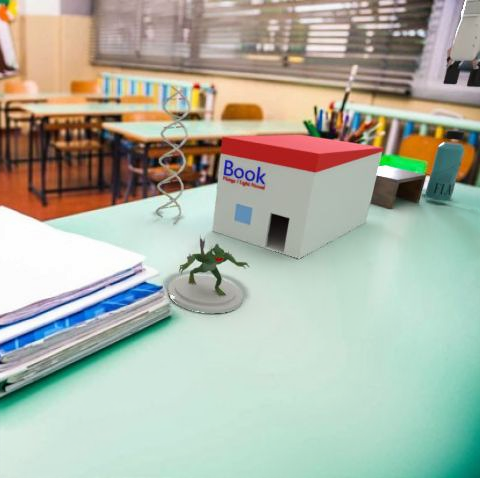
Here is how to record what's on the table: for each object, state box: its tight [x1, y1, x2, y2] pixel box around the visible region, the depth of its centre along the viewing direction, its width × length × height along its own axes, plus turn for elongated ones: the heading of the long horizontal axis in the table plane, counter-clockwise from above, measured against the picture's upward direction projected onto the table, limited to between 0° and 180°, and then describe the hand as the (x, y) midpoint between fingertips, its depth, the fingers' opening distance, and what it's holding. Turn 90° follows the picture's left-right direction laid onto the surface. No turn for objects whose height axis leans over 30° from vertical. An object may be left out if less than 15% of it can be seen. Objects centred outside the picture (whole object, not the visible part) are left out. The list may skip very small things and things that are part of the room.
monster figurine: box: [167, 235, 250, 314], centre depth 79 cm, size 12×12×10 cm
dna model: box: [155, 85, 192, 225], centre depth 109 cm, size 7×6×30 cm
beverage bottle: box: [425, 129, 466, 201], centre depth 135 cm, size 6×7×20 cm
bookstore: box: [211, 134, 385, 260], centre depth 110 cm, size 21×35×21 cm, turn 135°
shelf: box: [370, 165, 427, 210], centre depth 137 cm, size 12×14×8 cm
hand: (461, 85), depth 124 cm, fingers open, 9 cm apart
